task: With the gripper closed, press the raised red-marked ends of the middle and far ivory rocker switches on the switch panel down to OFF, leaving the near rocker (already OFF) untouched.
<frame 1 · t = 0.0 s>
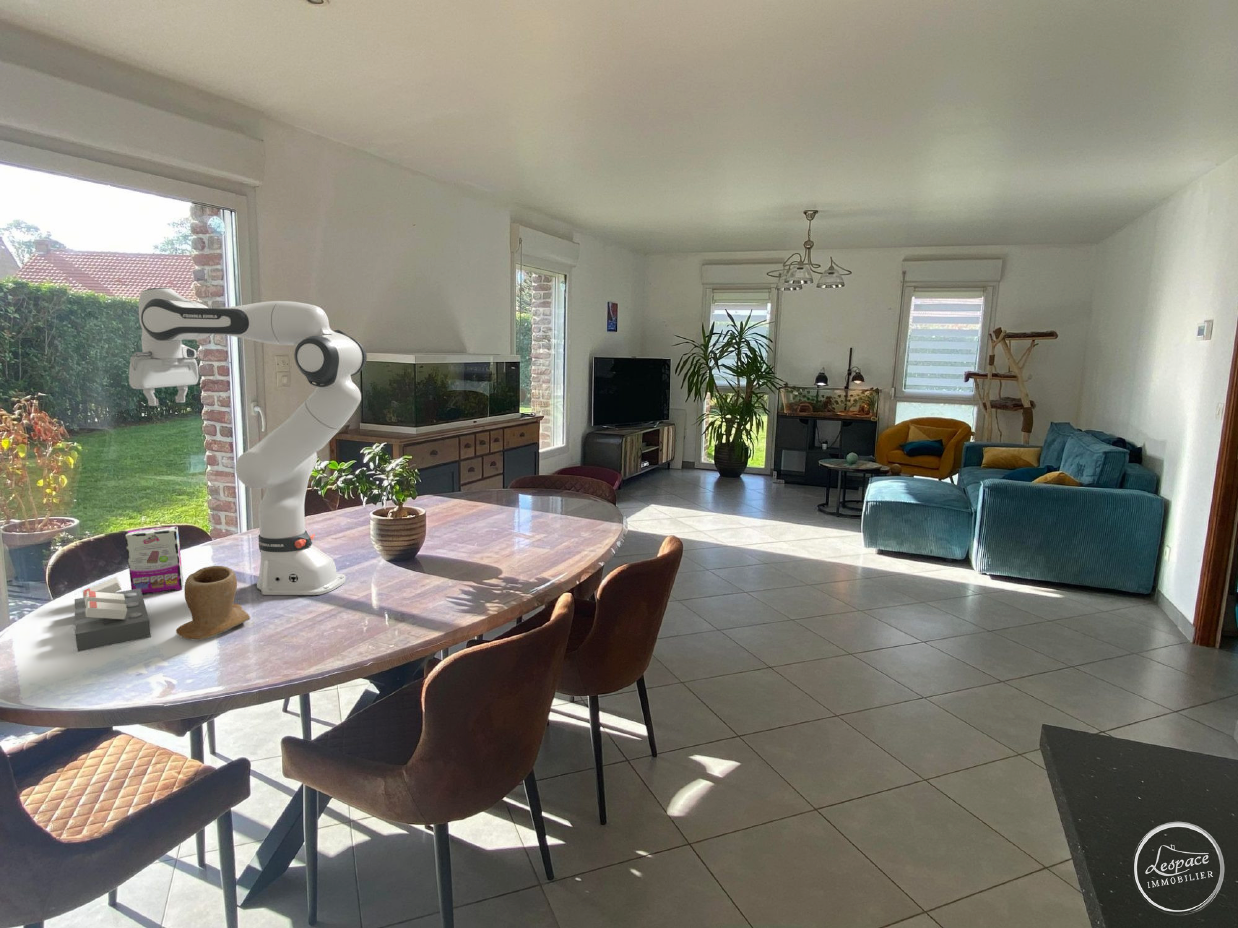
hand: (167, 404, 185), 48 cm above the table, fingers open, 8 cm apart
rocker 2: (104, 601, 159), point 6 cm above the table, hinge at -18.0°
switch panel: (112, 625, 160), on the table
rocker 1: (103, 592, 164), point 6 cm above the table, hinge at 18.0°
stone cup: (218, 631, 159), on the table
candy bar box: (158, 590, 183), on the table
rocker 3: (105, 612, 153), point 6 cm above the table, hinge at -18.0°
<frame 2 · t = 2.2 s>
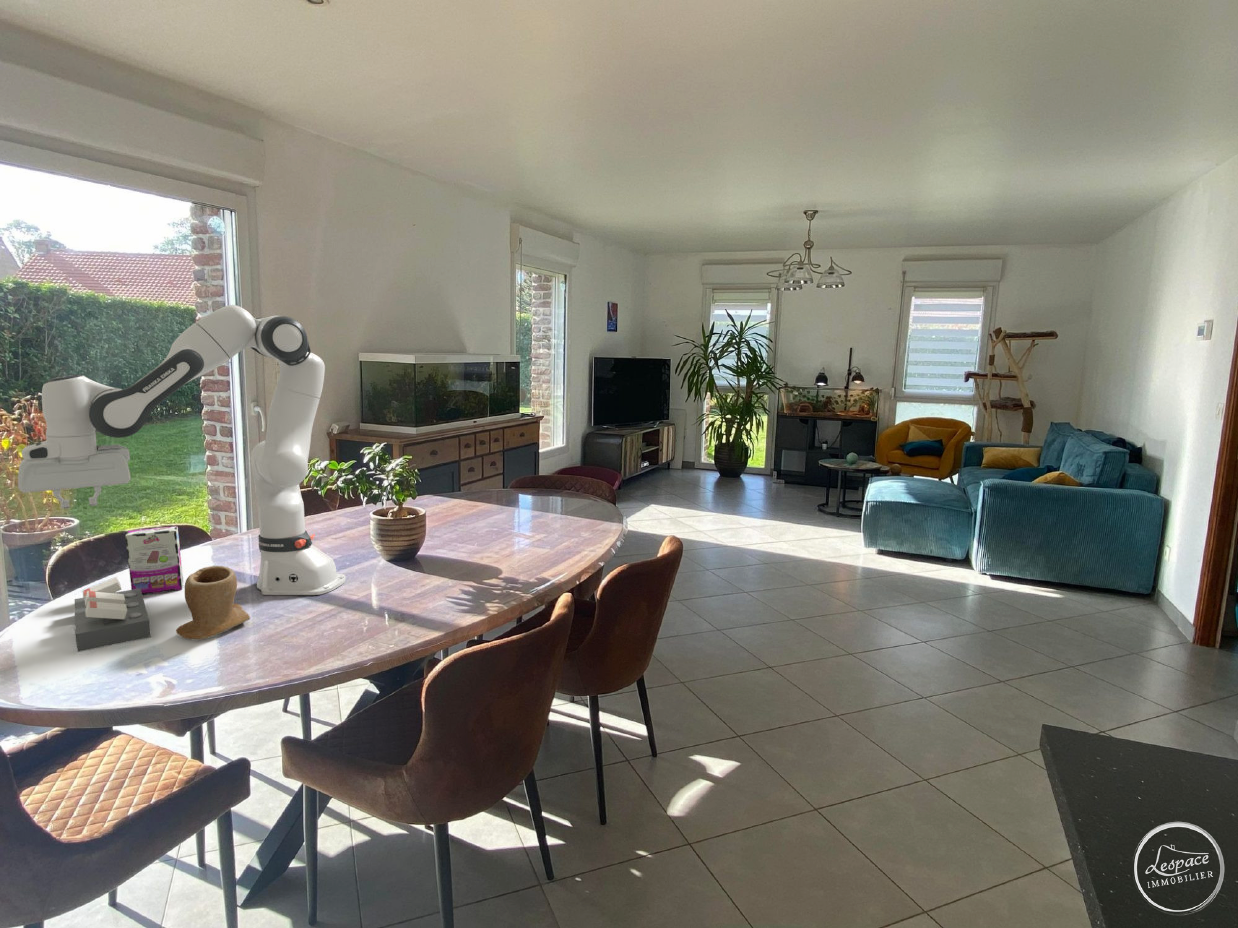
hand: (79, 506, 159), 27 cm above the table, fingers open, 4 cm apart
nothing on the table moved.
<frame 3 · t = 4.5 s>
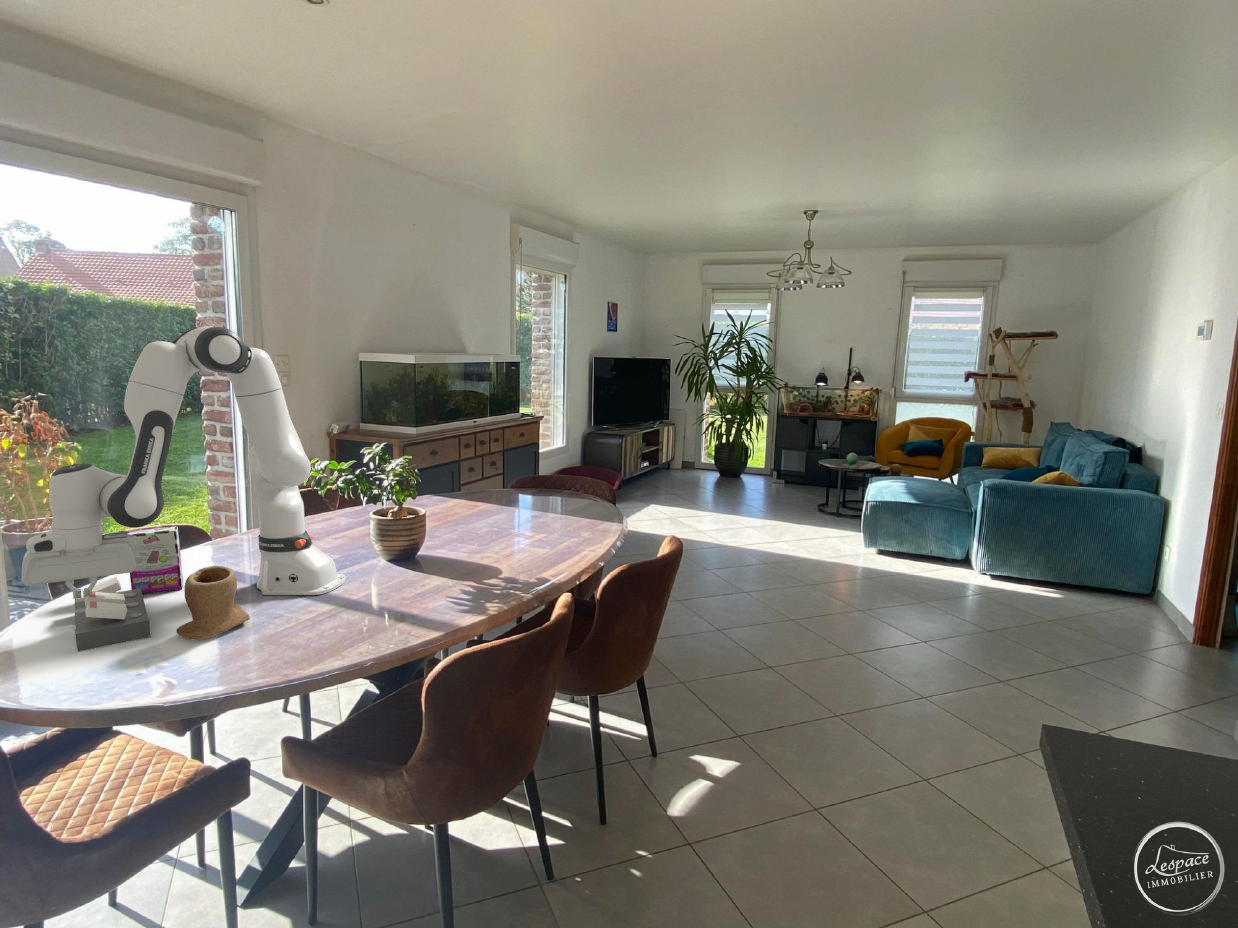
hand: (82, 596, 156), 8 cm above the table, fingers closed
rocker 2: (104, 601, 159), point 6 cm above the table, hinge at -16.9°, touching gripper
everything else where it was.
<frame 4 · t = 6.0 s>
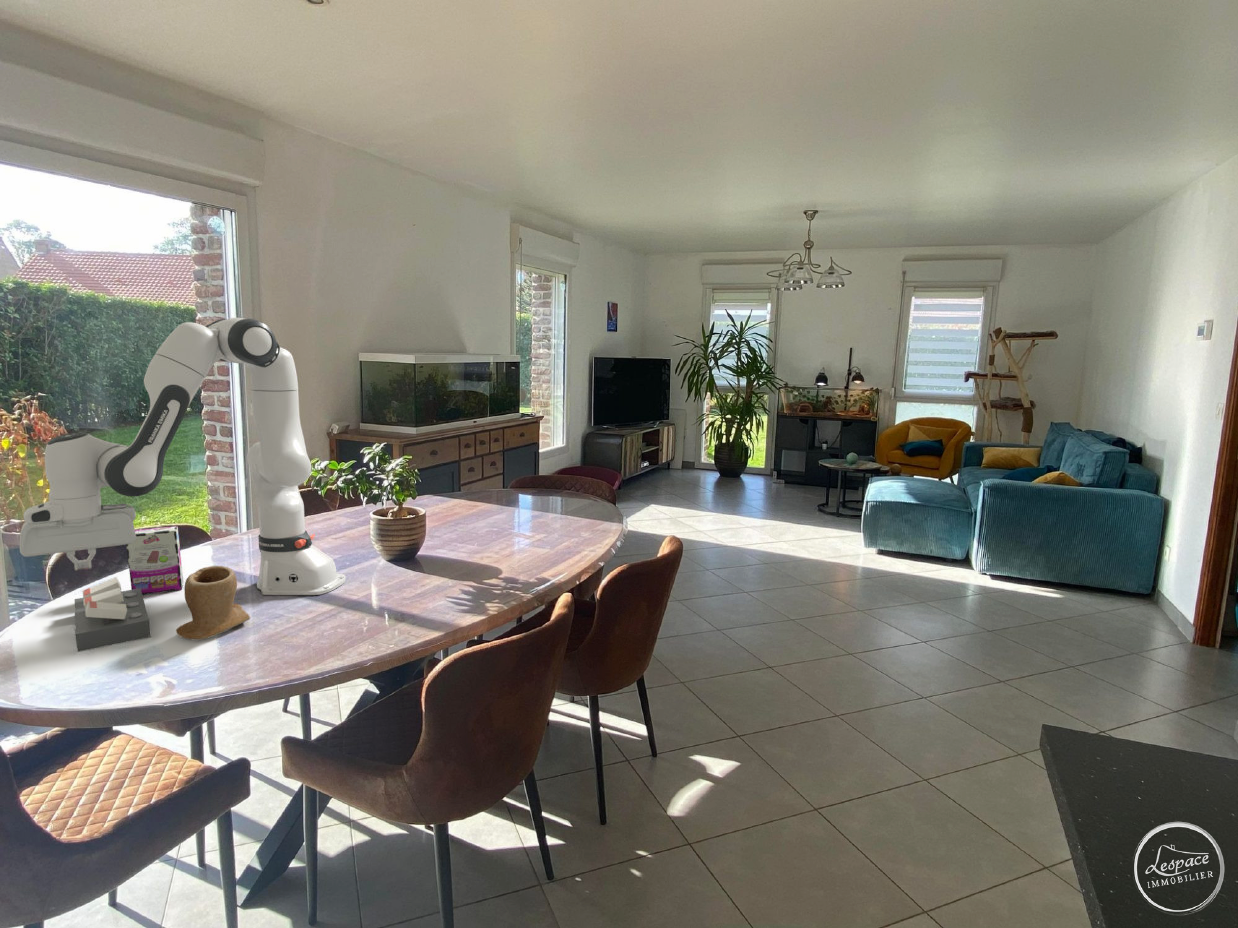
hand: (83, 568, 153), 15 cm above the table, fingers closed
rocker 2: (104, 601, 159), point 6 cm above the table, hinge at 10.6°
everything else where it was.
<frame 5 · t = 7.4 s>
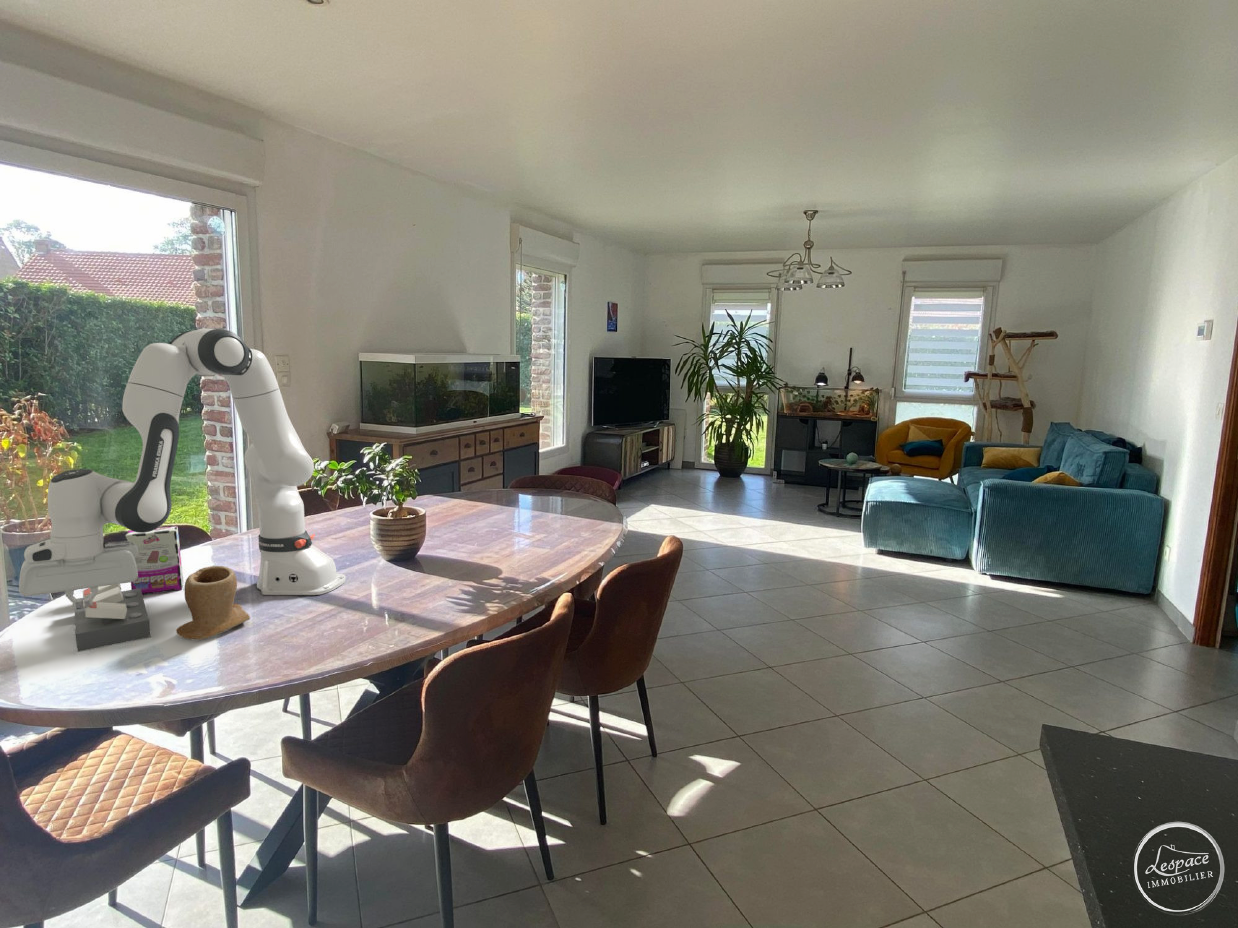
hand: (83, 607, 150), 8 cm above the table, fingers closed
rocker 2: (104, 601, 159), point 6 cm above the table, hinge at 15.6°
rocker 3: (105, 612, 153), point 6 cm above the table, hinge at -16.5°, touching gripper
everything else where it was.
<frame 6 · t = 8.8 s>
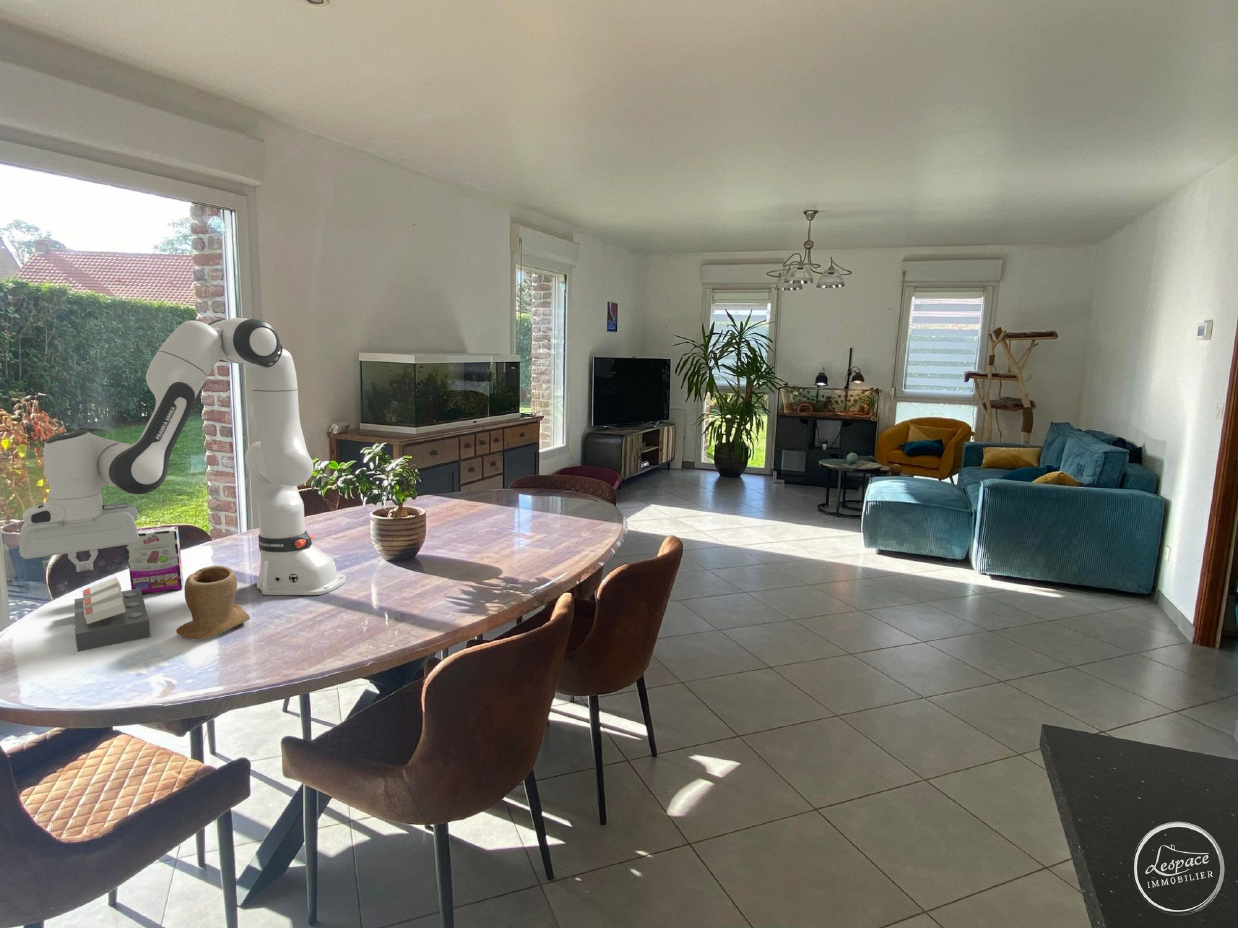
hand: (85, 570, 149), 16 cm above the table, fingers closed
rocker 2: (104, 601, 159), point 6 cm above the table, hinge at 16.8°
rocker 3: (105, 612, 153), point 6 cm above the table, hinge at 10.3°
everything else where it was.
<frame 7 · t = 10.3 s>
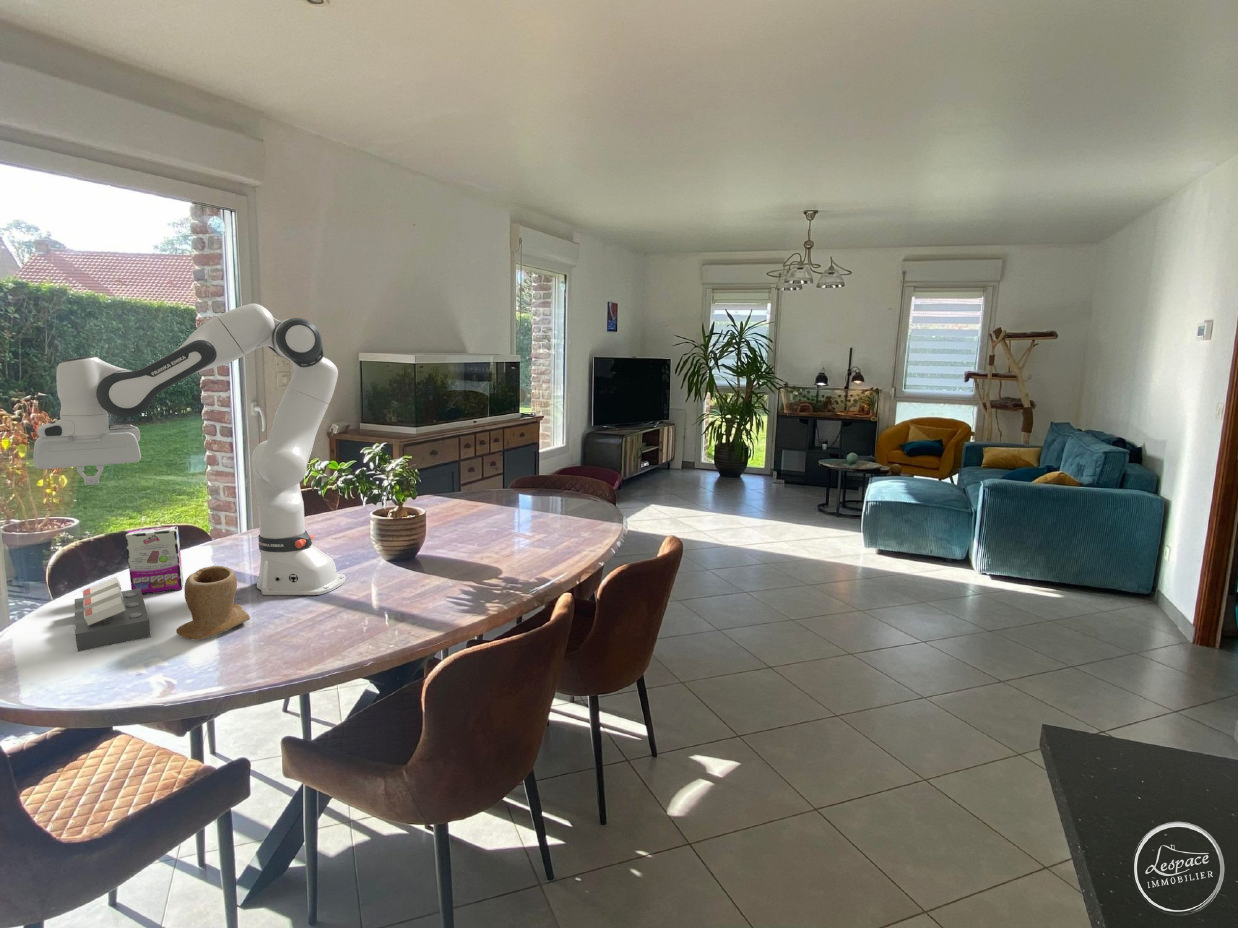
hand: (92, 484, 165), 31 cm above the table, fingers closed
rocker 2: (104, 601, 159), point 6 cm above the table, hinge at 17.1°
rocker 3: (105, 612, 153), point 6 cm above the table, hinge at 15.8°
everything else where it was.
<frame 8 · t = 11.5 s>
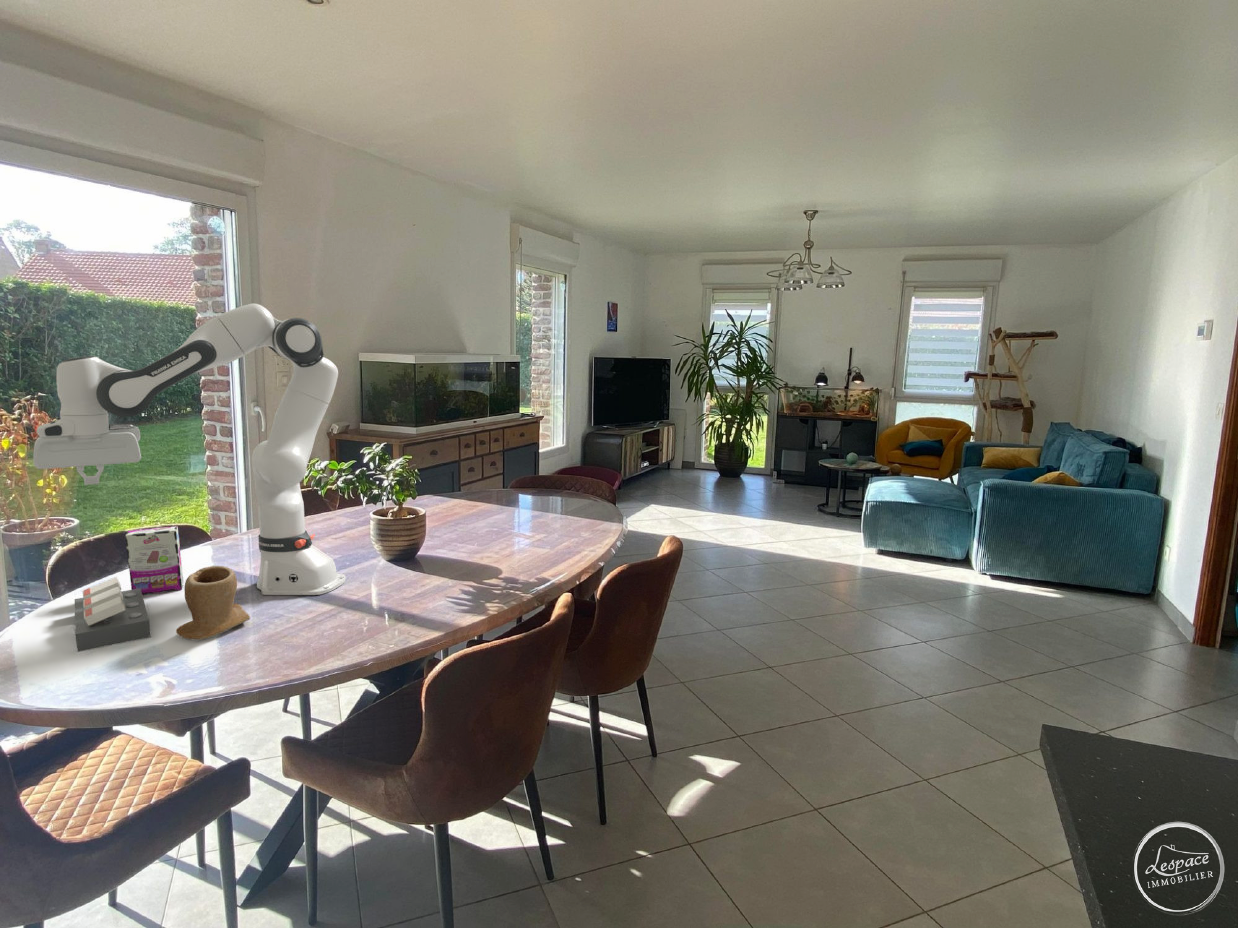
hand: (92, 483, 165), 31 cm above the table, fingers closed
rocker 3: (105, 612, 153), point 6 cm above the table, hinge at 17.0°
everything else where it was.
at the end: rocker 2 at +17° (first picture: -18°); rocker 3 at +17° (first picture: -18°); rocker 1 at +18° (first picture: +18°) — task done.
